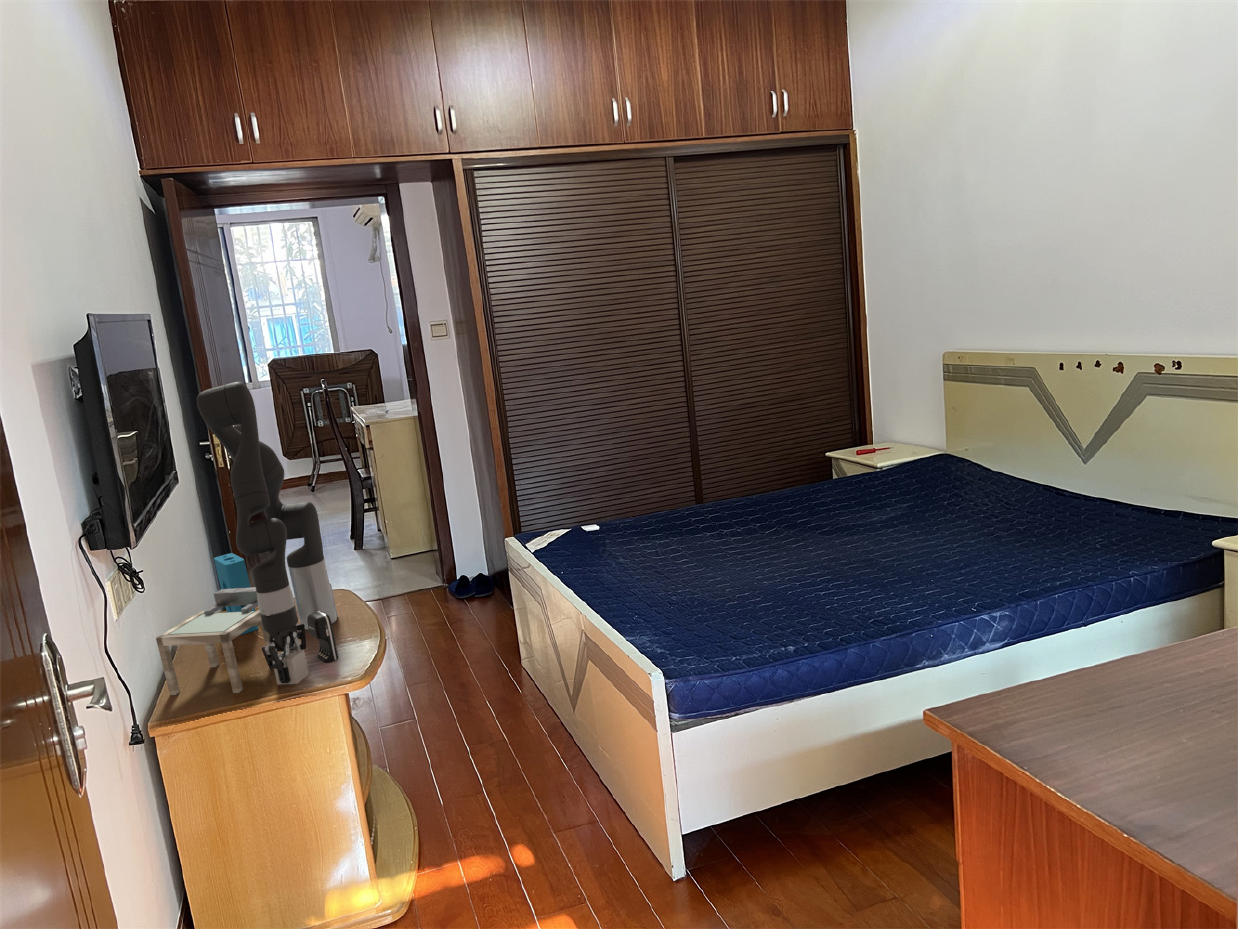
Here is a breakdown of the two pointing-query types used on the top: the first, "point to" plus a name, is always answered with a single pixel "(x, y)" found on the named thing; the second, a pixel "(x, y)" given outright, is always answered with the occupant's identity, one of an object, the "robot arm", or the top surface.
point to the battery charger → (323, 635)
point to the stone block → (294, 667)
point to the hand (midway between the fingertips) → (292, 676)
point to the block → (233, 578)
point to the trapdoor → (222, 621)
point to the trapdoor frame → (207, 648)
